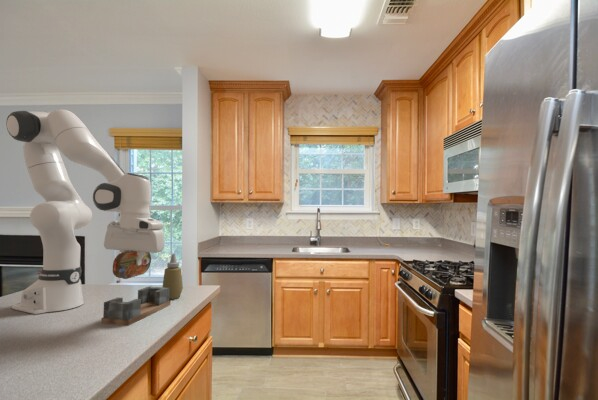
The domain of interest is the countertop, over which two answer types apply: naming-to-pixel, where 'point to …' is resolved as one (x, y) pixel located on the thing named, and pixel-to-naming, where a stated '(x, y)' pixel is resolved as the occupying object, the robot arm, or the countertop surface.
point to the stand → (135, 306)
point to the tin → (130, 264)
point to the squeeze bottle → (173, 278)
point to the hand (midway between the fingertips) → (132, 264)
